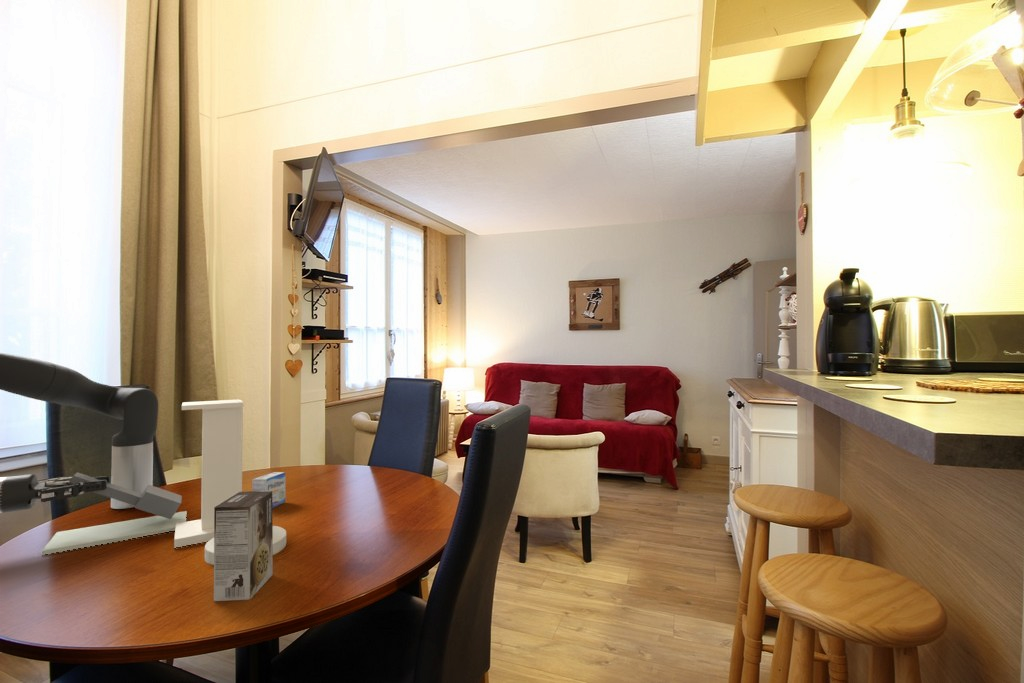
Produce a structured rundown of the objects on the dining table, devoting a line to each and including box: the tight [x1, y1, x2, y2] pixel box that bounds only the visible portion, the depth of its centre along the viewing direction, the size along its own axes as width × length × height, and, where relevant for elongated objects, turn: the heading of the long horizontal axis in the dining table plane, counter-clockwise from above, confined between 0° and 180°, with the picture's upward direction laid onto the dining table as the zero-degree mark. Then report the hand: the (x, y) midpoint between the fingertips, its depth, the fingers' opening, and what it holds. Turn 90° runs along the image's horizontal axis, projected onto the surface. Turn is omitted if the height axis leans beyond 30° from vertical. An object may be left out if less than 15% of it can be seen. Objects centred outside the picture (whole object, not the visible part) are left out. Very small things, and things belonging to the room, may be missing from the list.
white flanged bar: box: [173, 398, 244, 549], centre depth 110 cm, size 12×14×31 cm
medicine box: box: [252, 471, 286, 509], centre depth 129 cm, size 8×4×9 cm, turn 168°
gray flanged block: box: [70, 472, 183, 519], centre depth 111 cm, size 8×22×4 cm
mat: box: [41, 510, 188, 556], centre depth 110 cm, size 13×25×1 cm, turn 125°
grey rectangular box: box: [213, 490, 274, 602], centre depth 83 cm, size 9×6×16 cm
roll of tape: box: [204, 525, 287, 566], centre depth 100 cm, size 16×15×3 cm
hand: (107, 482), depth 109 cm, fingers closed on gray flanged block, 4 cm apart
